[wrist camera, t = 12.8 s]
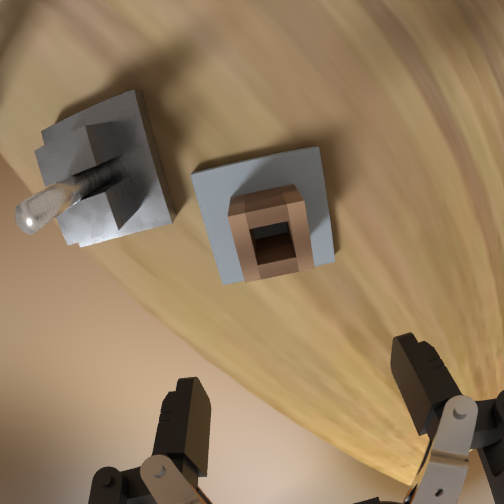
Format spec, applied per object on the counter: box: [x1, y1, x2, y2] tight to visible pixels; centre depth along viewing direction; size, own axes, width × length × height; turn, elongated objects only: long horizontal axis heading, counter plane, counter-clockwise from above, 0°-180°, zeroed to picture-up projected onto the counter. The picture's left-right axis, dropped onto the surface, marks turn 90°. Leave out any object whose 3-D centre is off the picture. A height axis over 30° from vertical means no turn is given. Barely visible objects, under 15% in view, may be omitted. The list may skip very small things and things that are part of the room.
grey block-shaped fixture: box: [15, 89, 177, 248], centre depth 20 cm, size 12×10×13 cm
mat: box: [191, 146, 335, 285], centre depth 28 cm, size 11×11×1 cm
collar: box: [228, 184, 315, 282], centre depth 25 cm, size 6×6×5 cm
